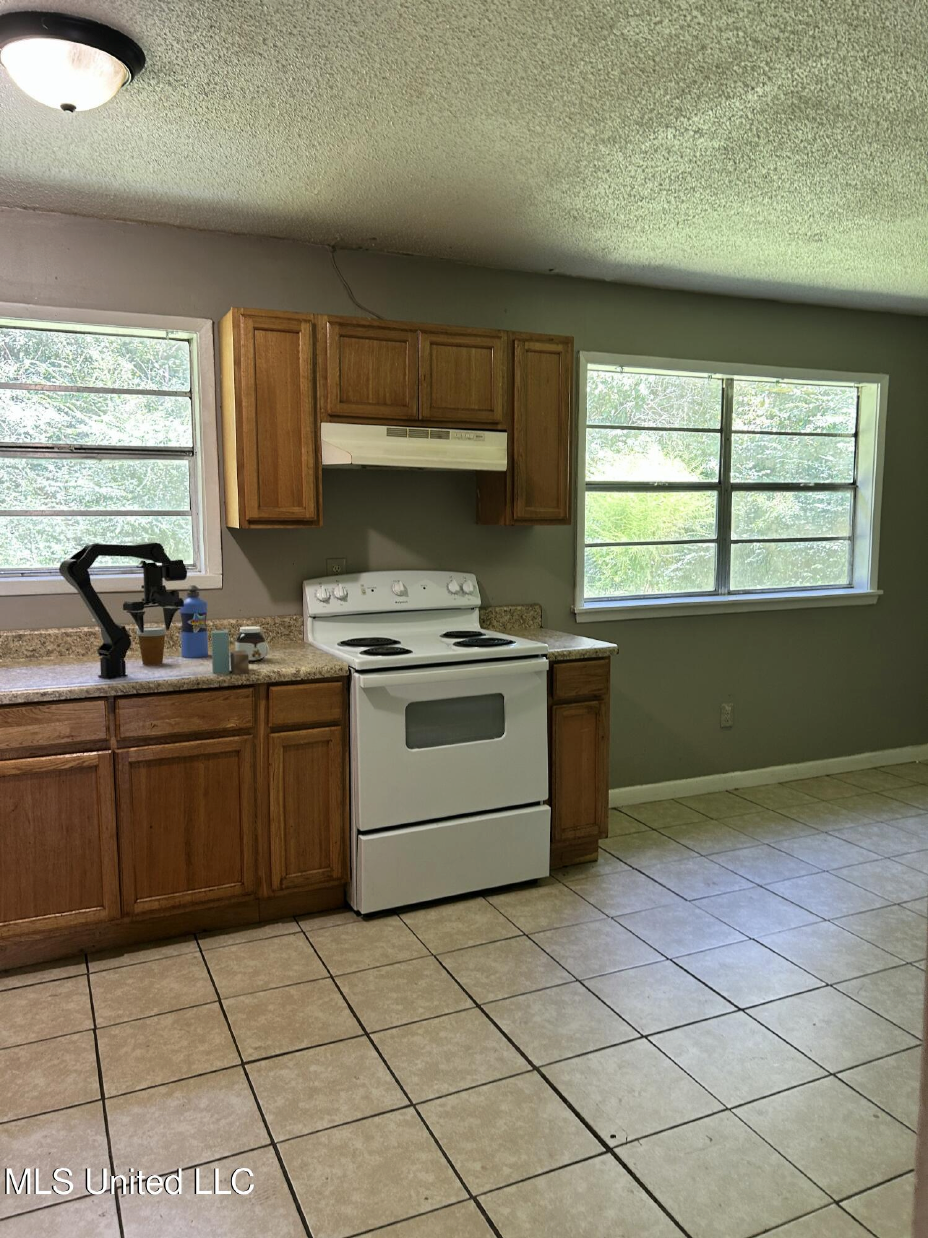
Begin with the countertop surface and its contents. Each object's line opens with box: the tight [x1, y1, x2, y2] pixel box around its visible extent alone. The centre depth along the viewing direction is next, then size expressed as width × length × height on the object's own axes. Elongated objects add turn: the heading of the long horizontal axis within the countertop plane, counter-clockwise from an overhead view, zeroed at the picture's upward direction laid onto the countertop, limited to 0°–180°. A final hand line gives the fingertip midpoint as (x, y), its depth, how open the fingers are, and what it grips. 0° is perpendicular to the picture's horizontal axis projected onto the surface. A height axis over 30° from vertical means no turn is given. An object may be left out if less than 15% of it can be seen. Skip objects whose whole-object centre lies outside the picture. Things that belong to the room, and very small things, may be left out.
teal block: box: [211, 629, 231, 675], centre depth 294 cm, size 5×5×13 cm
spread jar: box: [234, 625, 270, 664], centre depth 317 cm, size 12×11×12 cm
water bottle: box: [179, 585, 209, 659], centre depth 325 cm, size 9×9×25 cm
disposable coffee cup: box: [136, 626, 168, 666], centre depth 309 cm, size 10×10×12 cm
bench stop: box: [229, 650, 250, 675], centre depth 296 cm, size 5×10×6 cm, turn 17°
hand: (155, 631), depth 293 cm, fingers open, 9 cm apart
